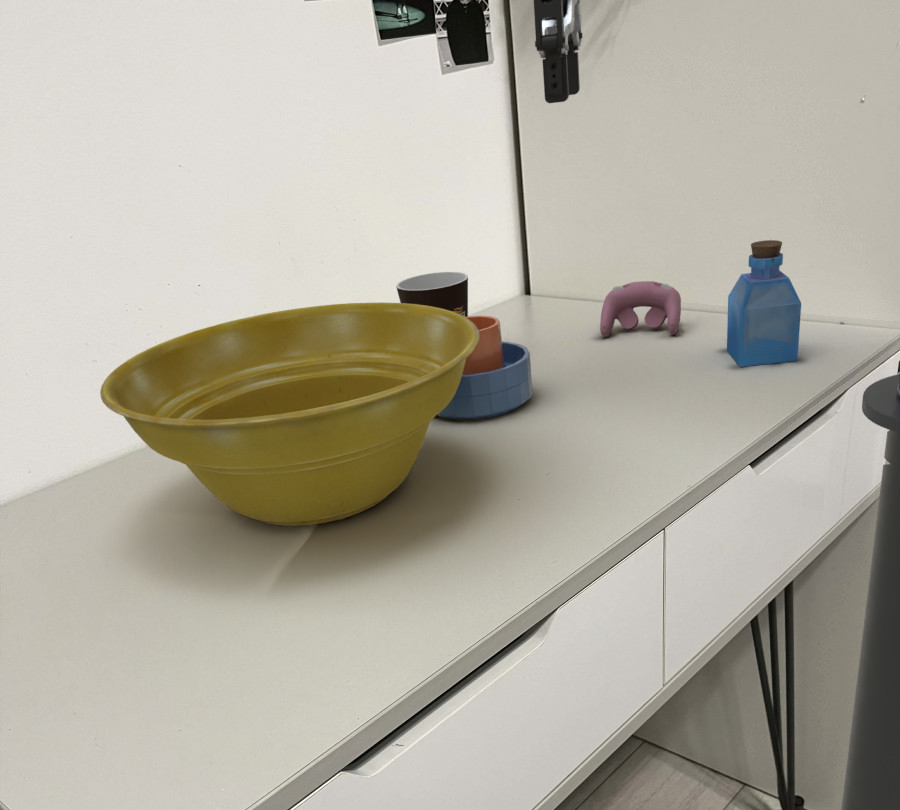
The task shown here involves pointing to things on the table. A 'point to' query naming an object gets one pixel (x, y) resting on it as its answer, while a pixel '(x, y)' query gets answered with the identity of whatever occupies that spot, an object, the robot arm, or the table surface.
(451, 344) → the planter bowl
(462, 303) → the coffee mug
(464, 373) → the cup
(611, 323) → the video game controller
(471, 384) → the bowl
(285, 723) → the table surface
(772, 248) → the perfume bottle
